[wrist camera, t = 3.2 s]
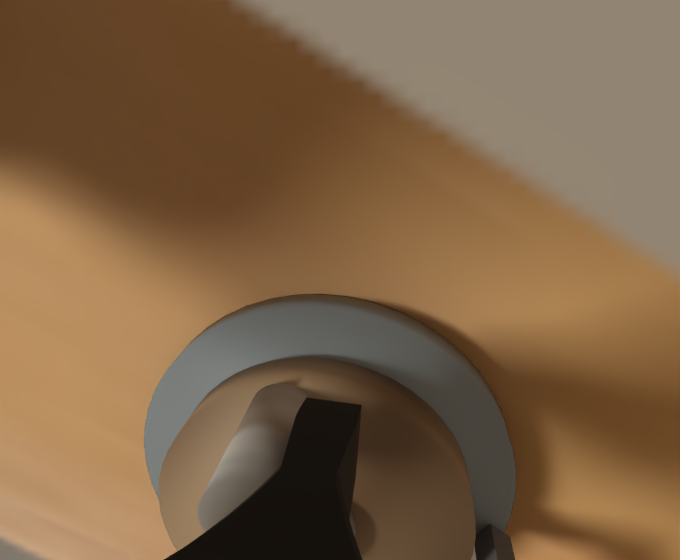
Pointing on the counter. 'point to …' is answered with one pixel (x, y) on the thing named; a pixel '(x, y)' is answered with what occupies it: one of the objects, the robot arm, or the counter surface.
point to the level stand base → (364, 350)
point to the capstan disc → (372, 461)
